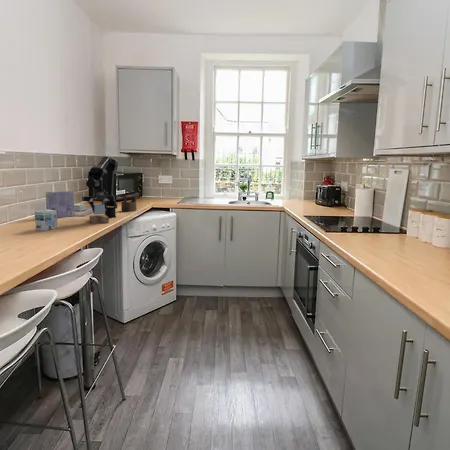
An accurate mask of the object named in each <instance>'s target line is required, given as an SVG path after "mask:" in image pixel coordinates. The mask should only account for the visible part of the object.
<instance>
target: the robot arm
mask: <svg viewBox="0 0 450 450" xmlns="http://www.w3.org/2000/svg"><path fill="white" fill-rule="evenodd" d="M118 167H119V163H118V162H117V159H113V158H112V157H110V156H103V157H102V159H101V161H99V163H98V164H96V165H93V166H91V168H90V170H89V174H88V180H87V179H86V180H87V181H86V182H85V183H86V187H87V188H89V189H92V196H90V195H82V197H81V200H82V201H83V202H87V203H89V206H90V208H91V210H92V213H93V212H94V205H93V204H95V203H94V201H95V200H98V201H101V204H104V205H105V214H104V215H106V216H108V217H109V219H110V218H117V215H116V209H118V203H117V201H116V197H115V195H114V185H115V183H114V182H115V173H116V172H117V170H118ZM105 171H106V185H105V191H104V188H103V187H104V185H103V180H104V178H103V176H104V175H105Z"/></svg>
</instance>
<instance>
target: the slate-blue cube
mask: <svg viewBox="0 0 450 450" xmlns="http://www.w3.org/2000/svg"><path fill="white" fill-rule="evenodd" d="M93 205H94V212H93V211H92V214H93V215H105V205H104V204H102V203H93Z"/></svg>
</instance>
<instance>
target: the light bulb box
mask: <svg viewBox="0 0 450 450" xmlns="http://www.w3.org/2000/svg"><path fill="white" fill-rule="evenodd" d="M34 224H35V231H39V232H41V231H42V232H48V231H51V229H52V230H55V229H58V218H57V210H49V209H46V208H45V209H41V210H37V211H34Z"/></svg>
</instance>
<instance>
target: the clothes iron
mask: <svg viewBox="0 0 450 450" xmlns="http://www.w3.org/2000/svg"><path fill="white" fill-rule="evenodd" d="M139 197H140V193H139V192H135V193H133V194H127V195H124V196H123V201H121V209H120V211H121V212H128V213H129V212H135V211H137V199H138V198H139ZM130 198H131V201H127V199H130Z"/></svg>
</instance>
